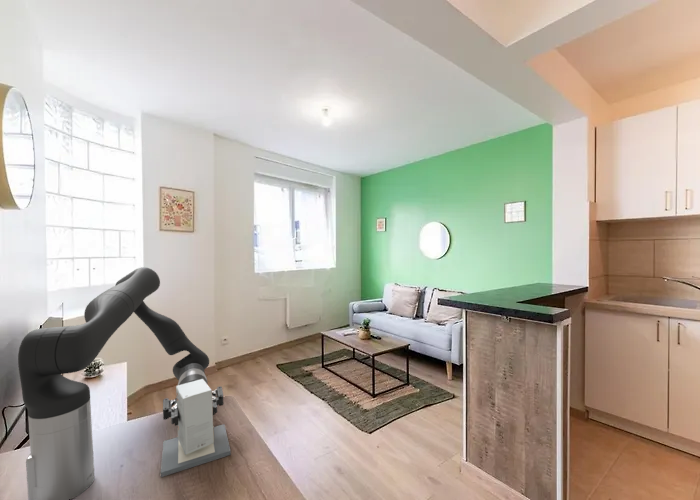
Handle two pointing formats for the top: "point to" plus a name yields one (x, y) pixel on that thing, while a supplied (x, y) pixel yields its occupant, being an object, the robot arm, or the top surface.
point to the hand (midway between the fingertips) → (195, 416)
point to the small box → (194, 415)
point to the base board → (193, 453)
